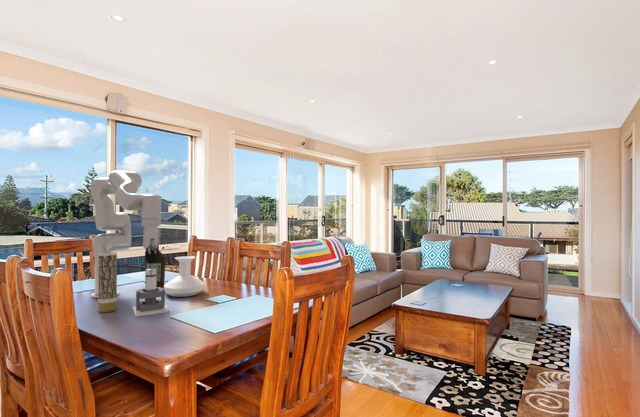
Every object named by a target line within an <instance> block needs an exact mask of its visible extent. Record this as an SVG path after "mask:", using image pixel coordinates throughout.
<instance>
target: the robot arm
mask: <svg viewBox="0 0 640 417" xmlns="http://www.w3.org/2000/svg"><path fill="white" fill-rule="evenodd" d="M142 181H143V180H142V176H141V175H140V173H138V172H137V171H130V170H129V171H128V170H119V169H118V170H113V171H111V172H110V173H109V174H108V177H97V178H95V179H93V180H92V181H91V184H90V193H91V197H92V200H93V202H94V220H95V227H96V229H97V230H98V231H101V232H102V231H103V232H104V231H105V232H107V233H100V234H99V233H98V234H96V235H95V236H94V237H93V238H92V246H93V253H94V254H93V255H94V292H92V293H91V294H90V297H91V298H94V299H98V293H99V254H100V253H115V252H122V251H123V252H124V251H127V250H129V249H130V248H131V246H132V226H131V225H132V221H131V218H130V215H129V214H128V213H127V212H116V211H115V204H114V201H113V200H112V199H111V197H110V196H109V195H112V196H115V199H116V202H117V204H118V205H119V206H120V207H121V208H122V209H123V210H126V211H141V227H143V234H142V235H143V236H142V248H143V249H144V250H145V251H144V261H145V260H148V263H156V248H157V243H158V240H159V238H158V236H159V235H158V234H159V232H158V231H159V229H158V228H159V227H160V226H161V225H162V224H161V215H162V214H161V212H162V210H161V208H162V197H161V196H160V195H159V194H150V193H149V194H148V193H137V192H138V191H139V188H140V187H141V185H142V183H143V182H142ZM109 231H111V232H112V231H118V232H112V233H111V232H110V233H109ZM118 295H120V290H117V296H118Z"/></svg>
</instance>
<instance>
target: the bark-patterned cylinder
mask: <svg viewBox="0 0 640 417" xmlns="http://www.w3.org/2000/svg"><path fill="white" fill-rule="evenodd" d="M117 253H118V252H111V253H100V254H99V293H98V298H97V299H98V303H97V304H98V306H97V307H98V308H97V309H98V312H99V313H110V312H113V311H116V310H117V297H118V295H117V291H118V289H117V288H118V287H117V286H118V279H117V277H118V271H117V270H118V254H117Z"/></svg>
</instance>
